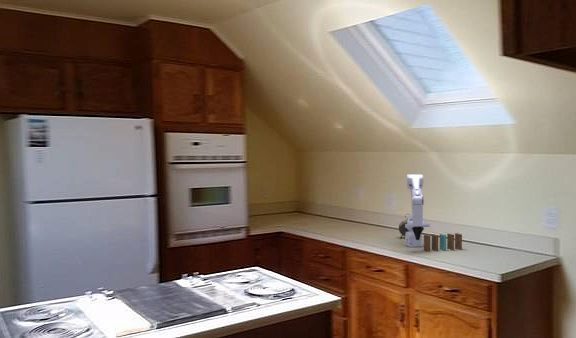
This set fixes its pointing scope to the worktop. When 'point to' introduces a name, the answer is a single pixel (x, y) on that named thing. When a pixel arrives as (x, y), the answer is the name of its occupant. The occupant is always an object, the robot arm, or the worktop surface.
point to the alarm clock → (403, 227)
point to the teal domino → (443, 242)
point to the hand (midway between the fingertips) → (417, 239)
